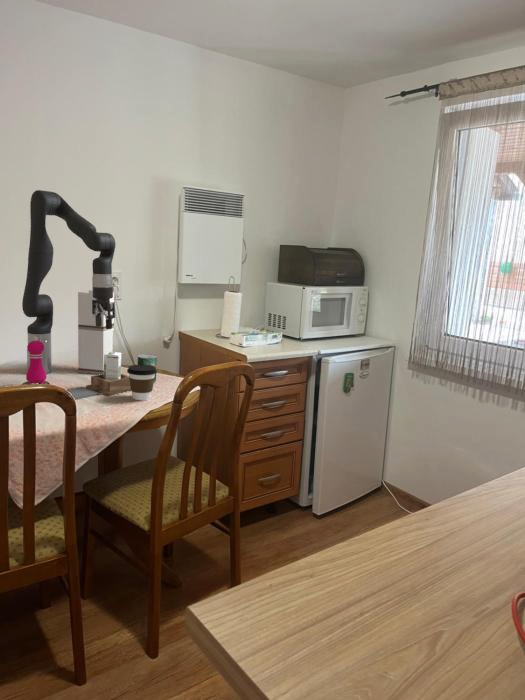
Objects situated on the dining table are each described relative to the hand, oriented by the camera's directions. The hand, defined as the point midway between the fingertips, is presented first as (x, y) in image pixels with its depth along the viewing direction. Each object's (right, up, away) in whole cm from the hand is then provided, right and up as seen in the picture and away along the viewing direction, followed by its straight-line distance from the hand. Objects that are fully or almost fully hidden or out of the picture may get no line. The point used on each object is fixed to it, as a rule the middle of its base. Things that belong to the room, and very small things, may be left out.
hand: (103, 327), depth 207 cm
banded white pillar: (-12, -18, +29) cm, 36 cm away
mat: (-8, -25, -6) cm, 27 cm away
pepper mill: (-25, -24, -2) cm, 35 cm away
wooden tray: (+2, -24, +3) cm, 24 cm away
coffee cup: (+16, -27, -6) cm, 32 cm away
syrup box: (+2, -24, +3) cm, 25 cm away
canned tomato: (+13, -22, +18) cm, 31 cm away
